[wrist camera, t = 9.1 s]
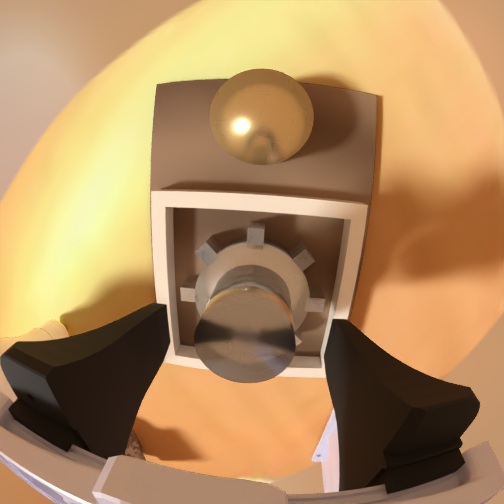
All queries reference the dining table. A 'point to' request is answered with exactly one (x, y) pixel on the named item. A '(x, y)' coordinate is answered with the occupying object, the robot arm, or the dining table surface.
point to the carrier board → (264, 186)
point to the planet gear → (250, 305)
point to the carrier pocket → (259, 202)
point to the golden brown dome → (261, 116)
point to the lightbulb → (45, 332)
